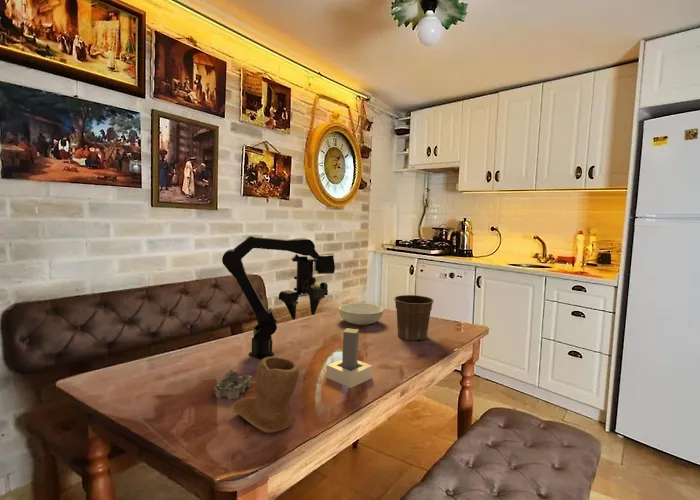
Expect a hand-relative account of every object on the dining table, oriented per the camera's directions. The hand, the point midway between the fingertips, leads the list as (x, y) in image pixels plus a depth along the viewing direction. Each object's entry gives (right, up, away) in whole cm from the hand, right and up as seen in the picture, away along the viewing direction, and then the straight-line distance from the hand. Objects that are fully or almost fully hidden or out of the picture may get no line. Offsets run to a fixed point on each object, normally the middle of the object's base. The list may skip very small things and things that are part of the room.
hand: (303, 317), depth 139 cm
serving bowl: (+21, -10, +43) cm, 49 cm away
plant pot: (+42, -13, +25) cm, 51 cm away
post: (+16, -16, -19) cm, 29 cm away
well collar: (+16, -16, -19) cm, 29 cm away
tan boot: (-3, -18, -44) cm, 48 cm away
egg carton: (-16, -16, -30) cm, 37 cm away
